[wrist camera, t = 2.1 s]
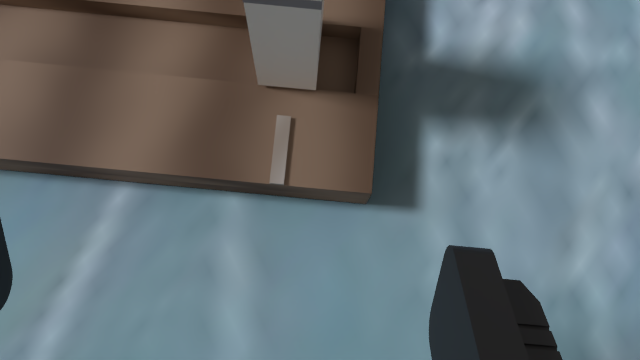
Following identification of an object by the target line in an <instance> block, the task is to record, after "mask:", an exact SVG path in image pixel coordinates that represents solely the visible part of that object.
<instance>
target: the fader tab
mask: <svg viewBox="0 0 640 360" xmlns="http://www.w3.org/2000/svg"><path fill="white" fill-rule="evenodd" d="M242 1H243V2H244V8H245V13H246V19H247V25H248V30H249V36H250V42H251V47H252V53H253V59H254V64H255V70H256V76H257V81H258V85H266V86H277V87H287V88H297V89H308V90H316V83H317V73H318V63H319V53H320V43H321V32H322V22H323V10H324V0H242Z"/></svg>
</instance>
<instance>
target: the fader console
mask: <svg viewBox="0 0 640 360" xmlns="http://www.w3.org/2000/svg"><path fill="white" fill-rule="evenodd" d="M384 13H385V0H324V10H323V22H322V32H321V43H320V53H319V63H318V73H317V83H316V90H308V89H297V88H287V87H277V86H266V85H258V81H257V76H256V70H255V64H254V59H253V53H252V47H251V42H250V36H249V30H248V25H247V19H246V13H245V8H244V2H243V1H242V0H0V169H1V170H12V171H23V172H33V173H44V174H54V175H65V176H76V177H86V178H97V179H107V180H118V181H128V182H139V183H150V184H160V185H171V186H181V187H192V188H203V189H213V190H224V191H234V192H245V193H256V194H266V195H277V196H287V197H298V198H309V199H319V200H330V201H340V202H351V203H361V204H366V203H367V201H368V200H369V198H370V196H371V194H372V182H373V168H374V154H375V140H376V126H377V112H378V97H379V83H380V69H381V55H382V41H383V27H384Z"/></svg>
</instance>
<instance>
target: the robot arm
mask: <svg viewBox="0 0 640 360" xmlns="http://www.w3.org/2000/svg"><path fill="white" fill-rule="evenodd" d="M11 286H12V267H11V262H10V258H9V254H8V249H7V245H6V241H5V236H4V232H3V228H2V224H1V219H0V310H1V309H2V307H3V306H4V304H5V303H6V301H7V299H8V296H9V294H10V290H11ZM429 343H430V350H431V357H432V360H562V357H561V355H560V352H559V351H557V345H556V342H555V339H554V337H553V334H552V332H551V331H549V324H548V322H547V319H546V317H545V314H544V311H543V309H542V306H541V304H540V302H539V301H538V300H537V299H536V297H535V296H534V295H533V294H532V293H531V292H530V291H529V290H528V289H527V288H526V287H525V286H524V284H523V283H522V282H521V281H520V280H509V279H502V276H501V273H500V270H499V267H498V264H497V261H496V258H495V255H494V253H493V251H492V250H491V249H485V248H474V247H463V246H452V245H449V246H448V247H447V249H446V251H445V254H444V258H443V262H442V266H441V270H440V274H439V278H438V282H437V286H436V291H435V295H434V299H433V303H432V307H431V312H430V320H429Z"/></svg>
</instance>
